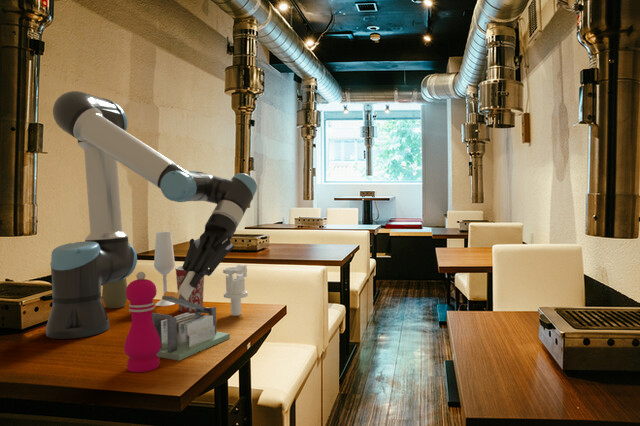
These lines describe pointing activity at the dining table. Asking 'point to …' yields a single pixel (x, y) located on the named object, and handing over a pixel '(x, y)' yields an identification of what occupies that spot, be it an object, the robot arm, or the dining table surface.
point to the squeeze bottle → (115, 294)
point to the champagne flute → (164, 260)
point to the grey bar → (183, 302)
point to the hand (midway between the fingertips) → (181, 297)
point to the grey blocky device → (185, 329)
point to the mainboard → (186, 352)
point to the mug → (196, 294)
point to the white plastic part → (235, 287)
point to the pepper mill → (142, 326)
